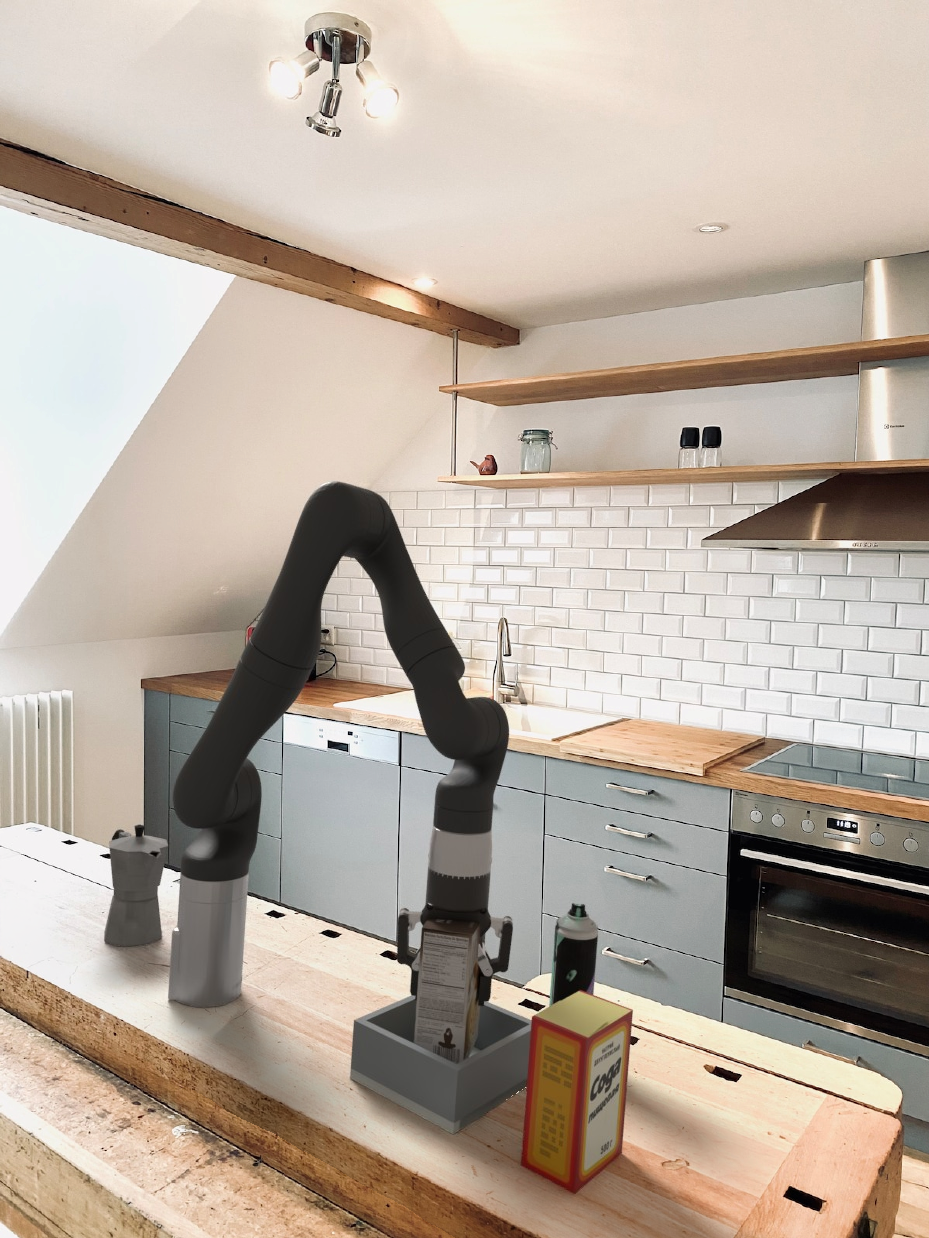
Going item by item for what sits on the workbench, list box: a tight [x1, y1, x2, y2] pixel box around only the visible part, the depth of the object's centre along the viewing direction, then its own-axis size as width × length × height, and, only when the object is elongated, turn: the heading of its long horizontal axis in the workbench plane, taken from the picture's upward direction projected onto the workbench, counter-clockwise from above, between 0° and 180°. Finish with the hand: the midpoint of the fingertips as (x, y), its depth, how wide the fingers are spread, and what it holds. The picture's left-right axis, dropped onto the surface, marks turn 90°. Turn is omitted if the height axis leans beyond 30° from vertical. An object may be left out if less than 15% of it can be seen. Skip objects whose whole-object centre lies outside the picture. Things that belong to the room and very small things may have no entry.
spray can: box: [548, 902, 599, 1007], centre depth 121 cm, size 6×6×20 cm
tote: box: [349, 994, 532, 1135], centre depth 113 cm, size 16×16×7 cm
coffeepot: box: [104, 824, 169, 948], centre depth 151 cm, size 15×9×18 cm, turn 44°
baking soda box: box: [520, 990, 634, 1195], centre depth 99 cm, size 10×6×16 cm
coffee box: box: [414, 919, 486, 1064], centre depth 113 cm, size 9×6×16 cm
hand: (449, 1000), depth 113 cm, fingers closed on coffee box, 7 cm apart
